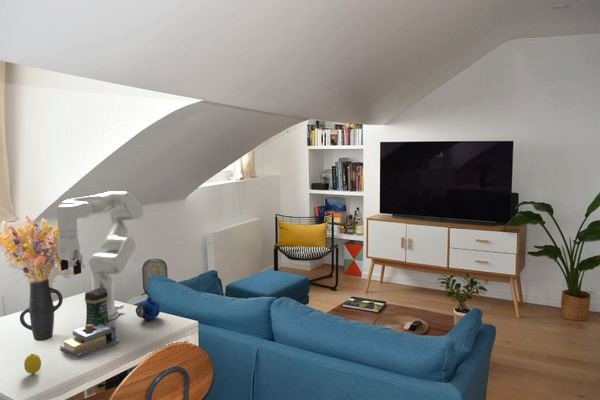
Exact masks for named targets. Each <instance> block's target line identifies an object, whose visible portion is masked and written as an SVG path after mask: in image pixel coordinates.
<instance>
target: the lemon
mask: <svg viewBox="0 0 600 400" xmlns="http://www.w3.org/2000/svg"><path fill="white" fill-rule="evenodd" d="M23 367H24V370H25V371H26V372H27V373H28V374H31V375H35V374H36V373H38V372H39V371H40V369H41V367H42V360H41V358H40V356H39V355H37V354H36V353H35V354H34V353H31V354H29V355H28V356H26V358H25V359H24V366H23Z"/></svg>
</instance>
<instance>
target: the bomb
mask: <svg viewBox="0 0 600 400" xmlns="http://www.w3.org/2000/svg"><path fill="white" fill-rule="evenodd" d="M144 292H145V293H146V294H147V298H146V299H145V300H143V301H142V302H141V303H140V304H138V306H136V308H135V313H136V316H137V317H138V318H139V319H143V320H145V321H152V320H155V319H157V317H158V316H159V315H160V312H161V305H160V304H159V302H158V301H157V300H155V299H152V297H151V296H150V293H148V292H147V289H145V290H144Z"/></svg>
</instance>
